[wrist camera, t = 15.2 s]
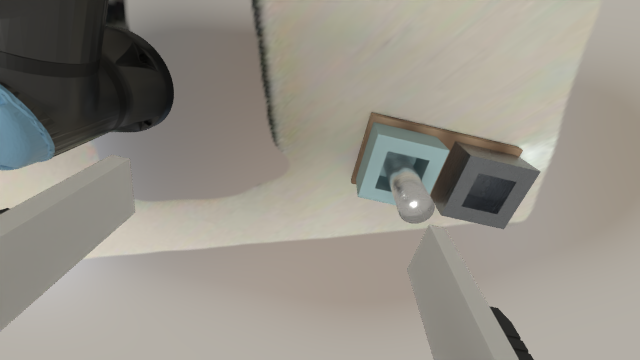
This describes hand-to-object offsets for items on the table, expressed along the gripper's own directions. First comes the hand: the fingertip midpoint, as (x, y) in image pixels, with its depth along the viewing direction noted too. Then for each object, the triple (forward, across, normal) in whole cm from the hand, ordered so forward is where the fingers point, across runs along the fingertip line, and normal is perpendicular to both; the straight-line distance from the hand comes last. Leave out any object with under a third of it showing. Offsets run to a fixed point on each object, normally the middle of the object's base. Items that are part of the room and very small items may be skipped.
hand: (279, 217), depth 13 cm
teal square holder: (+33, +14, -8) cm, 36 cm away
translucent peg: (+32, +14, -8) cm, 35 cm away
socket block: (+32, +27, -8) cm, 43 cm away
